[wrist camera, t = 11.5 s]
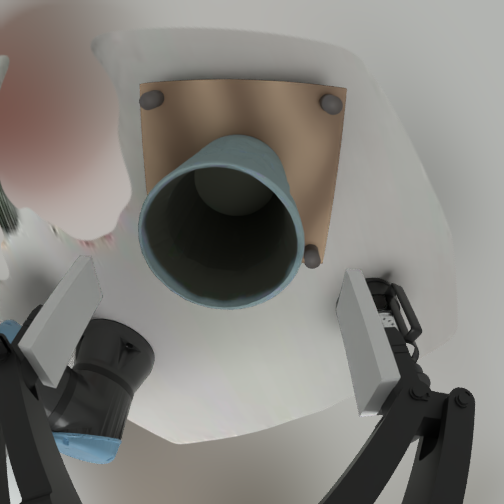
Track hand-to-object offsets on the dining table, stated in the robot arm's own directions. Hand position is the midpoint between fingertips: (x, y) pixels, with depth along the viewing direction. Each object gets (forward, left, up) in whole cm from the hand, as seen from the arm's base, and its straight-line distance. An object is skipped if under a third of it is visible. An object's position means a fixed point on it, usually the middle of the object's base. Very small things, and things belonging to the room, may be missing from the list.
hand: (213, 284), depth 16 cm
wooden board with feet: (0, 0, -23) cm, 23 cm away
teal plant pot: (0, 0, -16) cm, 16 cm away
